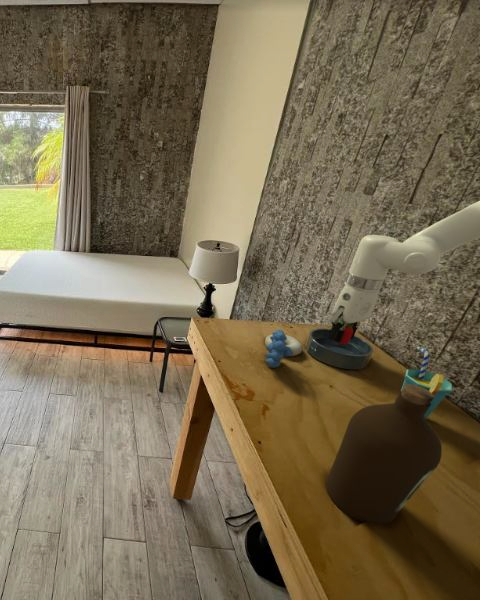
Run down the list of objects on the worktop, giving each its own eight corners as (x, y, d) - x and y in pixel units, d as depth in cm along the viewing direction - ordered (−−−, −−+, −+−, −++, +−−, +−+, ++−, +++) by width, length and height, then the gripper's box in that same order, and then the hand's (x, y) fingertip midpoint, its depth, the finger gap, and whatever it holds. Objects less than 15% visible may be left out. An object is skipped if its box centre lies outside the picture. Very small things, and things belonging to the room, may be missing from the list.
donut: (291, 341, 103) (259, 339, 105) (294, 332, 102) (261, 330, 103) (306, 360, 94) (271, 357, 96) (310, 350, 93) (274, 347, 94)
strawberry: (336, 334, 97) (343, 318, 94) (352, 342, 93) (359, 325, 90) (326, 337, 95) (333, 320, 93) (342, 345, 92) (349, 328, 89)
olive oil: (317, 503, 56) (370, 394, 46) (324, 462, 63) (372, 360, 53) (398, 546, 50) (482, 432, 39) (396, 495, 57) (466, 387, 46)
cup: (375, 389, 82) (399, 340, 76) (414, 398, 79) (442, 348, 73) (397, 428, 71) (427, 375, 64) (444, 440, 68) (480, 385, 61)
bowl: (327, 337, 105) (331, 324, 103) (379, 363, 92) (386, 349, 90) (293, 347, 100) (297, 333, 98) (343, 375, 87) (349, 360, 85)
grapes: (289, 382, 85) (301, 345, 80) (260, 375, 88) (271, 338, 83) (286, 359, 95) (298, 324, 89) (261, 353, 97) (270, 319, 92)
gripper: (357, 291, 80) (333, 350, 88) (399, 282, 85) (373, 339, 93) (327, 280, 87) (307, 337, 94) (368, 273, 92) (346, 327, 100)
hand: (340, 337), depth 94 cm, fingers closed on strawberry, 4 cm apart
